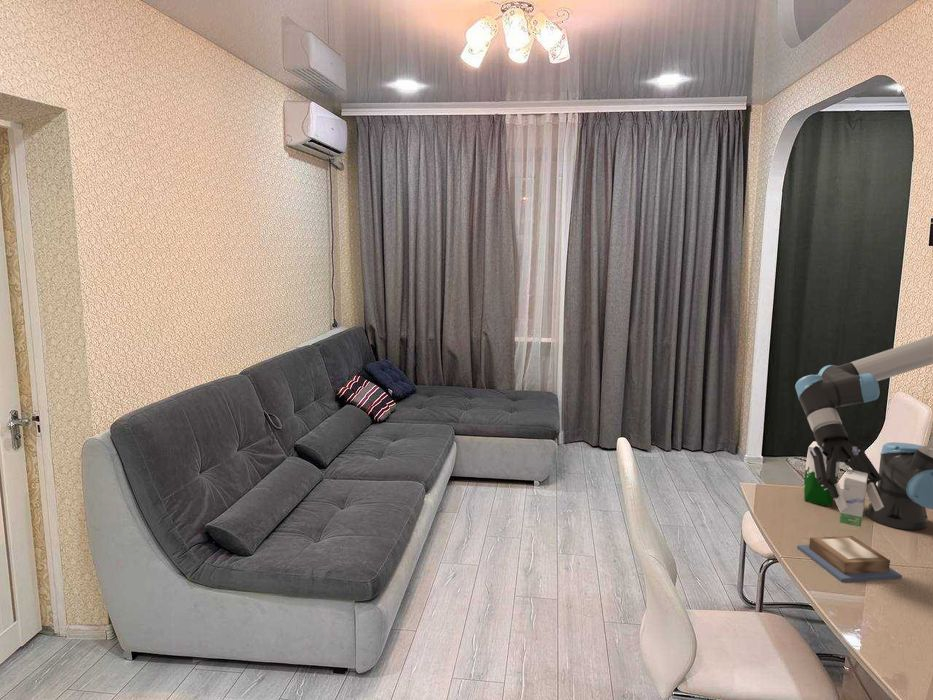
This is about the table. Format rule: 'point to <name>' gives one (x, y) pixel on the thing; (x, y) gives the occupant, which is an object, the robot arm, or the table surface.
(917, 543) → the table surface
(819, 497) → the milk carton
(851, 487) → the ink box
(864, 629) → the table surface
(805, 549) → the board
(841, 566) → the walnut plinth
